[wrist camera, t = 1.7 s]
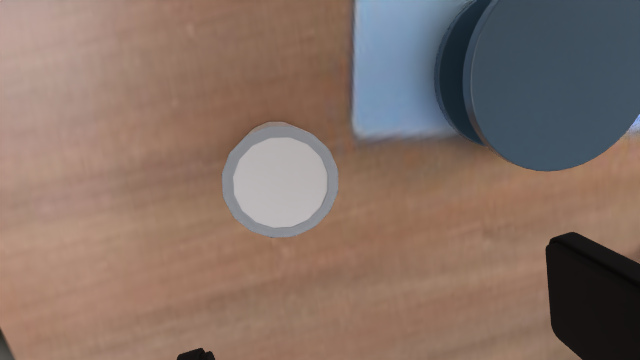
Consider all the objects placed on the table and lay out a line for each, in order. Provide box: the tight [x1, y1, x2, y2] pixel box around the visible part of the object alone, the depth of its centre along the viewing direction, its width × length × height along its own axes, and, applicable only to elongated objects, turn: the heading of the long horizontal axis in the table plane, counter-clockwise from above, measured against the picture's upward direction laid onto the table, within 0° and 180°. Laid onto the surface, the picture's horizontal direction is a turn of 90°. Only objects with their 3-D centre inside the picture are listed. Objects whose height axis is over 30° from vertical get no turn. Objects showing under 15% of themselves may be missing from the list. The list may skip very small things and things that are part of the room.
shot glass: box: [222, 122, 338, 238], centre depth 26 cm, size 7×7×7 cm
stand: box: [434, 0, 640, 171], centre depth 27 cm, size 13×13×6 cm
